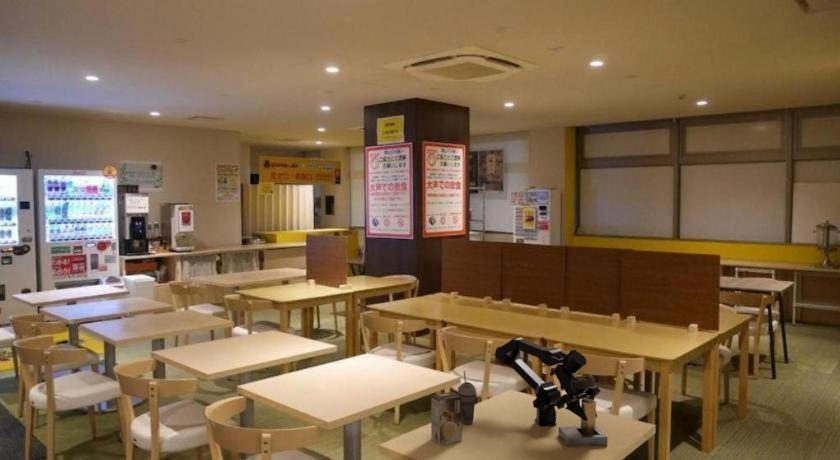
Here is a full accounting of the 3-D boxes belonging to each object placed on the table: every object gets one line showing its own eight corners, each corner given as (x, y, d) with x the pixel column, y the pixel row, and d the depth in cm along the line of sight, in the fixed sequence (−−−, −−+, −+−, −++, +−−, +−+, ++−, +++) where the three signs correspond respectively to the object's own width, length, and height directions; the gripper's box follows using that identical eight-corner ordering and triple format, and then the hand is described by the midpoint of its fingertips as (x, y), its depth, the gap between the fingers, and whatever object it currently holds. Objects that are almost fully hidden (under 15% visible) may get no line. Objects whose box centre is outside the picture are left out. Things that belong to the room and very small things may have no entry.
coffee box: (452, 434, 216) (453, 391, 215) (462, 441, 210) (462, 396, 209) (430, 439, 211) (430, 394, 211) (439, 446, 206) (439, 400, 205)
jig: (568, 446, 206) (568, 438, 206) (558, 435, 216) (558, 426, 216) (607, 445, 207) (607, 436, 207) (595, 433, 217) (596, 425, 217)
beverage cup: (475, 427, 222) (475, 374, 221) (455, 426, 224) (456, 373, 223) (477, 420, 229) (477, 369, 228) (458, 419, 231) (459, 367, 230)
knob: (578, 436, 211) (579, 401, 210) (582, 432, 215) (583, 397, 214) (592, 440, 208) (593, 404, 208) (596, 435, 213) (597, 400, 212)
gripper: (562, 372, 208) (587, 413, 200) (597, 364, 219) (622, 402, 211) (545, 388, 215) (568, 428, 207) (579, 379, 226) (602, 417, 218)
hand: (591, 418), depth 210 cm, fingers closed on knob, 5 cm apart
